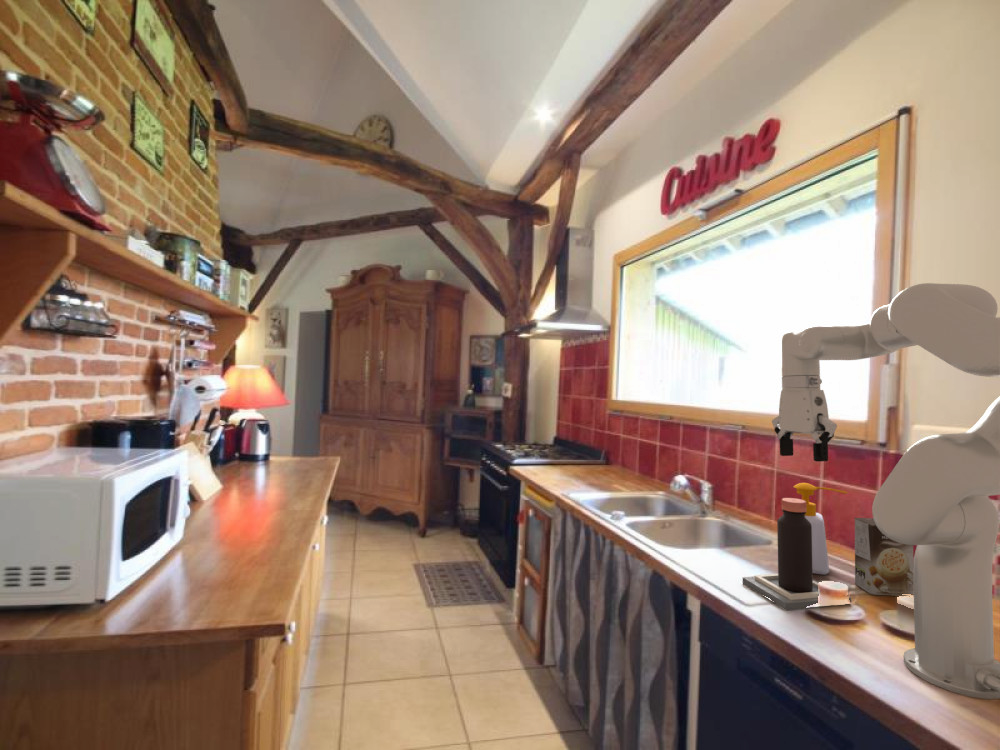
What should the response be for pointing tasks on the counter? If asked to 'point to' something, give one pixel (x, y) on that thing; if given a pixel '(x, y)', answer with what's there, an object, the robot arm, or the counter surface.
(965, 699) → the counter surface
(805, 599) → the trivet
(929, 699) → the counter surface
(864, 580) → the cookie box
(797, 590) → the vinegar
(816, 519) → the soap bottle
